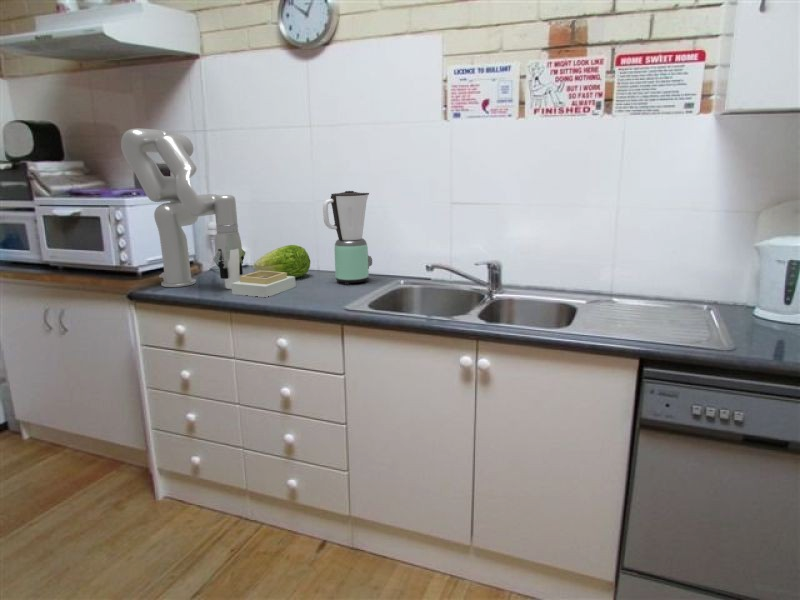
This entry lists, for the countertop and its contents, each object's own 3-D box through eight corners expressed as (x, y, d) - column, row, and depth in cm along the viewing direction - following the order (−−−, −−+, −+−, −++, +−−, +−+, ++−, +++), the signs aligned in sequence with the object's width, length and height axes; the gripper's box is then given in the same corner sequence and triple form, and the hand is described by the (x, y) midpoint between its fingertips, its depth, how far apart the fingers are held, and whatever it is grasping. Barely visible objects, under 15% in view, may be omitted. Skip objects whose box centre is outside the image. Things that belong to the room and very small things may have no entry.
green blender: (363, 276, 221) (360, 189, 212) (379, 282, 209) (377, 191, 201) (320, 281, 211) (316, 191, 203) (334, 288, 200) (330, 193, 191)
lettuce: (269, 273, 234) (259, 244, 229) (318, 269, 225) (309, 238, 220) (250, 288, 221) (240, 257, 216) (301, 283, 212) (291, 251, 207)
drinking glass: (236, 290, 199) (233, 250, 195) (220, 289, 200) (216, 250, 197) (245, 286, 205) (241, 247, 202) (229, 285, 207) (225, 247, 203)
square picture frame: (232, 294, 193) (230, 277, 192) (265, 283, 210) (264, 268, 209) (266, 297, 187) (264, 280, 186) (297, 286, 204) (296, 270, 203)
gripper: (235, 226, 206) (239, 271, 211) (202, 231, 191) (207, 280, 195) (250, 227, 204) (254, 272, 208) (218, 232, 188) (223, 281, 192)
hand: (231, 275), depth 202 cm, fingers open, 7 cm apart
